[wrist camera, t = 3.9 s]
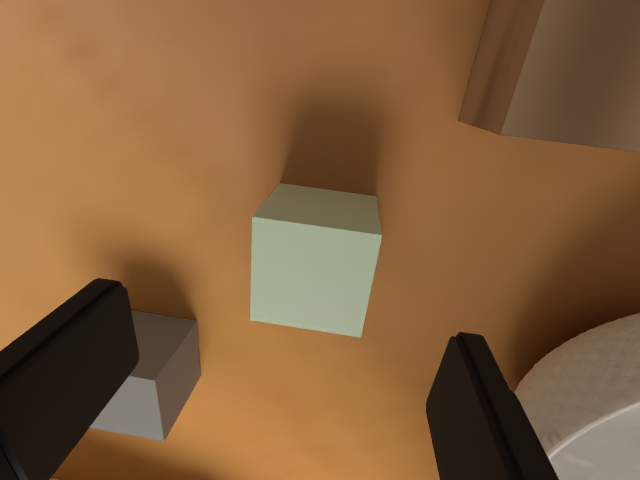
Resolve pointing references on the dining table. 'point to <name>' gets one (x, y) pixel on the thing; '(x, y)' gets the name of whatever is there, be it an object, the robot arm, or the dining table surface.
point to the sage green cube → (314, 258)
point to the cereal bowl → (589, 403)
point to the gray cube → (155, 378)
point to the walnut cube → (559, 72)
